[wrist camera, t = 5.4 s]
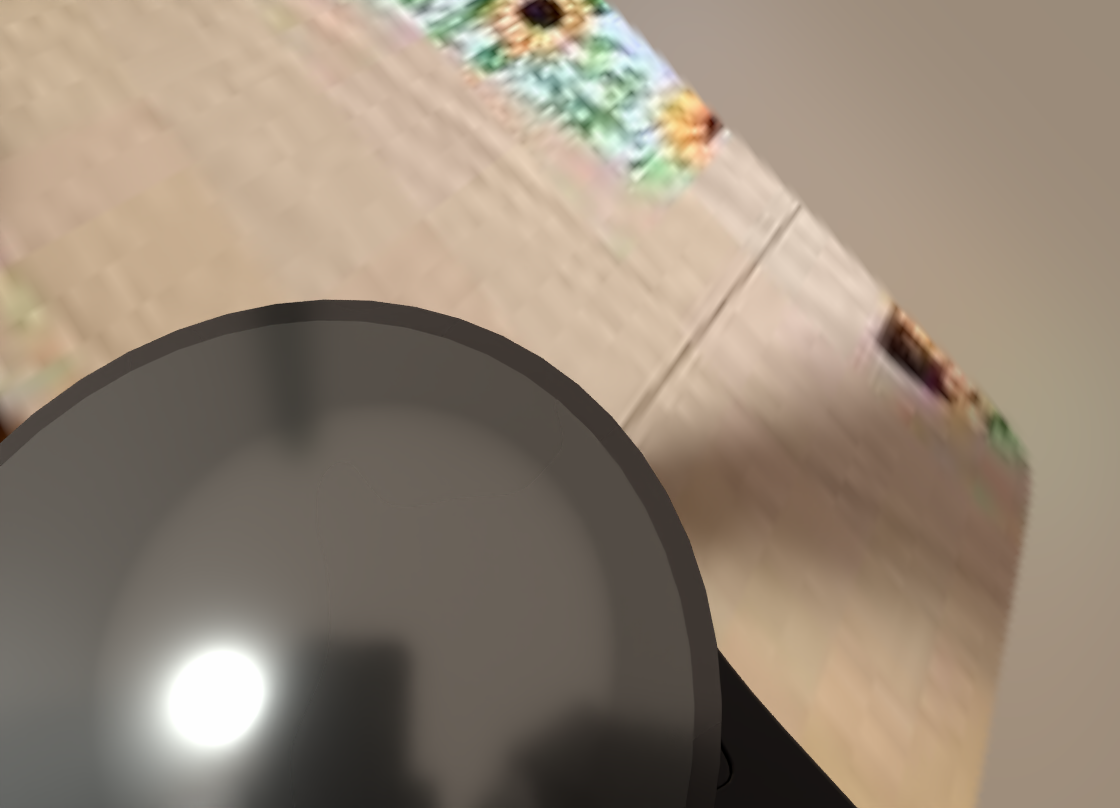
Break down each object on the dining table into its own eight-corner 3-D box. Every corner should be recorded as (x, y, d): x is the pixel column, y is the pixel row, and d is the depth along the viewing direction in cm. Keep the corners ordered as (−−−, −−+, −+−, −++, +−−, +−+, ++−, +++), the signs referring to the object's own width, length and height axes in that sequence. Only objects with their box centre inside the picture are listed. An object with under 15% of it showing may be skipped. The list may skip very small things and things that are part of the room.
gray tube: (484, 691, 14) (248, 1706, 2) (364, 576, 15) (-435, 769, 2) (590, 557, 16) (880, 632, 3) (475, 456, 16) (324, 166, 4)
